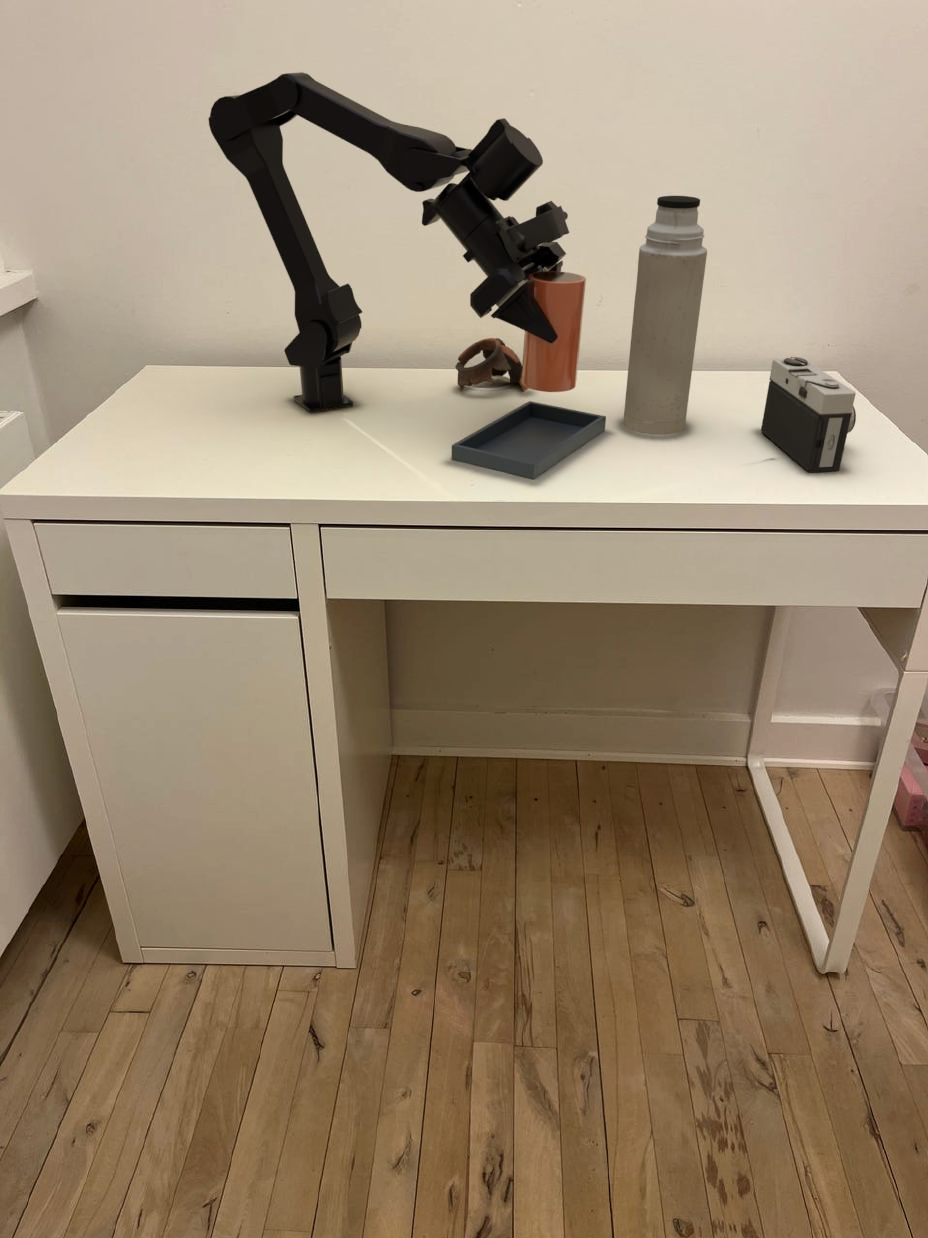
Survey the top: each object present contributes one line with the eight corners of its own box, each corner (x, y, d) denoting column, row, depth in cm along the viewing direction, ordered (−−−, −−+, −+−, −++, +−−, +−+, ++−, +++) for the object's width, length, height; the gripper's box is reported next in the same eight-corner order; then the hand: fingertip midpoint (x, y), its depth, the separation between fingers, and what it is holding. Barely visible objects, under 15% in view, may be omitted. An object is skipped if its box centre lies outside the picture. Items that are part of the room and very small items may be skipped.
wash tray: (528, 417, 131) (529, 400, 130) (604, 433, 126) (606, 416, 125) (451, 463, 117) (451, 445, 116) (533, 483, 112) (534, 464, 111)
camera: (871, 469, 116) (890, 387, 111) (806, 473, 115) (822, 390, 110) (817, 428, 128) (832, 352, 123) (757, 431, 127) (770, 355, 122)
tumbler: (511, 379, 122) (517, 272, 116) (556, 373, 125) (564, 269, 119) (540, 394, 117) (549, 284, 111) (586, 388, 120) (597, 280, 114)
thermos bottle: (632, 413, 133) (654, 190, 118) (691, 422, 130) (720, 194, 115) (615, 432, 127) (636, 198, 112) (675, 441, 124) (705, 203, 109)
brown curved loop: (531, 404, 137) (505, 357, 132) (472, 428, 141) (444, 383, 136) (533, 358, 146) (509, 312, 141) (477, 382, 149) (451, 338, 144)
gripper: (498, 189, 103) (591, 307, 105) (554, 169, 118) (634, 273, 120) (431, 261, 110) (519, 370, 112) (492, 233, 125) (569, 330, 127)
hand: (564, 333), depth 118 cm, fingers closed on tumbler, 7 cm apart
